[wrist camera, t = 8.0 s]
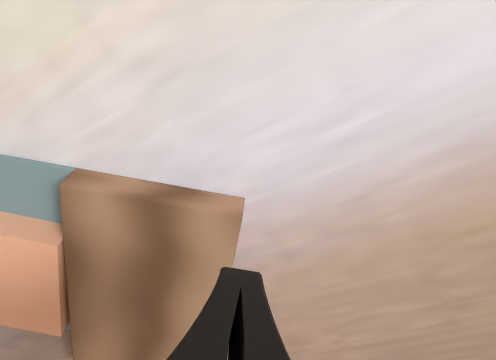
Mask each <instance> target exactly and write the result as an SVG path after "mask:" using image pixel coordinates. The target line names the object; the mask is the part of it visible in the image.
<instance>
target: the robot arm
mask: <svg viewBox="0 0 496 360" xmlns="http://www.w3.org/2000/svg"><path fill="white" fill-rule="evenodd" d="M228 345H229V349H228ZM227 355H228V360H290V358H289V356H288V353H287V351H286V349H285V347H284V344H283V342H282V340H281V337H280V335H279V332H278V330H277V327H276V324H275V321H274V319H273V316H272V313H271V310H270V307H269V304H268V300H267V297H266V293H265V289H264V285H263V280H262V275H261V274H260V273H259V272H253V271H247V270H242V269H236V268H230V267H223V268H221V270H220V274H219V277H218V279H217V282H216V284H215V286H214V288H213V291H212V293H211V295H210V296H209V298H208V300H207V302H206V303H205V305H204V307H203V309H202V311H201V312H200V314H199V315H198V317H197V318H196V320H195V321H194V323H193V324H192V326H191V327H190V329H189V330H188V332H187V333H186V335H185V336H184V337H183V339H182V340H181V341H180V343H179V344H178V345H177V347H176V348H175V349H174V350H173V352H172V353H171V354H170V355H169V357H168V358H167V359H166V360H227Z"/></svg>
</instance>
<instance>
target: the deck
mask: <svg viewBox="0 0 496 360" xmlns="http://www.w3.org/2000/svg"><path fill="white" fill-rule="evenodd" d="M59 192H60V204H61V216H62V229H63V241H64V253H65V265H66V278H67V290H68V302H69V315H70V327H71V339H72V351H73V360H166V359H167V358H168V357H169V355H170V354H171V353H172V352H173V350H174V349H175V348H176V347H177V345H178V344H179V343H180V341H181V340H182V339H183V337H184V336H185V335H186V333H187V332H188V330H189V329H190V327H191V326H192V324H193V323H194V321H195V320H196V318H197V317H198V315H199V314H200V312H201V311H202V309H203V307H204V305H205V303H206V302H207V300H208V298H209V296H210V295H211V293H212V291H213V288H214V286H215V284H216V282H217V279H218V277H219V274H220V270H221V268H223V267H230V268H232V266H233V261H234V256H235V251H236V246H237V241H238V236H239V231H240V226H241V222H242V216H243V208H244V200H245V198H241V197H235V196H229V195H224V194H218V193H213V192H207V191H201V190H196V189H190V188H185V187H179V186H173V185H168V184H162V183H157V182H151V181H145V180H140V179H134V178H129V177H123V176H117V175H112V174H106V173H101V172H95V171H89V170H84V169H78V168H76V169H75V170H74V171H73V172H72V173H71V174H69V175H68V176H67V177H66V178H65V179H64V180H63V181H62V182H61V183H60V184H59Z"/></svg>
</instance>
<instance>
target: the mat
mask: <svg viewBox="0 0 496 360" xmlns="http://www.w3.org/2000/svg"><path fill="white" fill-rule="evenodd" d="M75 169H76V168H73V167H67V166H61V165H56V164H50V163H45V162H39V161H33V160H28V159H22V158H17V157H11V156H5V155H0V211H2V212H7V213H12V214H17V215H22V216H27V217H32V218H36V219H41V220H46V221H51V222H56V223H61V224H62V216H61V204H60V192H59V184H60V183H61V182H62V181H63V180H64V179H65V178H66V177H67V176H68V175H69V174H71V173H72V172H73V171H74V170H75ZM65 331H71V327H70V323H69V324H68V326H67V328H66V330H65Z"/></svg>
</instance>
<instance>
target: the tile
mask: <svg viewBox="0 0 496 360" xmlns="http://www.w3.org/2000/svg"><path fill="white" fill-rule="evenodd" d="M69 323H70V315H69V302H68V290H67V278H66V265H65V253H64V241H63V229H62V224H61V223H56V222H51V221H46V220H41V219H36V218H32V217H27V216H22V215H17V214H12V213H7V212H2V211H0V325H1V326H6V327H11V328H17V329H22V330H27V331H33V332H38V333H43V334H49V335H54V336H59V337H61V336H62V335H63V333H64V331H65V330H66V328H67V326H68V324H69Z"/></svg>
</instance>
